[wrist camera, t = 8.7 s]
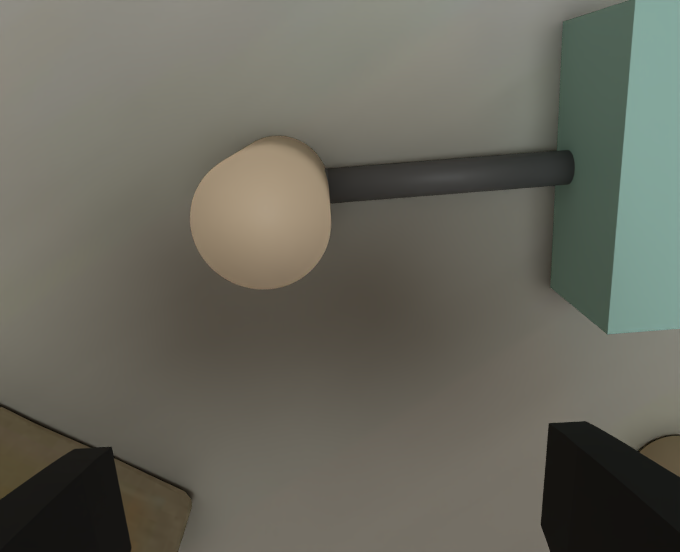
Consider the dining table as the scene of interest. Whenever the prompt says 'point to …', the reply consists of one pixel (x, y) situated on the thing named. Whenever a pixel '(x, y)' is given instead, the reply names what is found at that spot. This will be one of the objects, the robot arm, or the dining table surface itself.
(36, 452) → the caddy
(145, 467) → the dining table surface
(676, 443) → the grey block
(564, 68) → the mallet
